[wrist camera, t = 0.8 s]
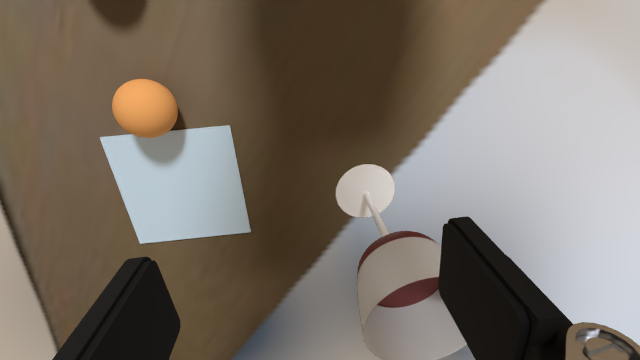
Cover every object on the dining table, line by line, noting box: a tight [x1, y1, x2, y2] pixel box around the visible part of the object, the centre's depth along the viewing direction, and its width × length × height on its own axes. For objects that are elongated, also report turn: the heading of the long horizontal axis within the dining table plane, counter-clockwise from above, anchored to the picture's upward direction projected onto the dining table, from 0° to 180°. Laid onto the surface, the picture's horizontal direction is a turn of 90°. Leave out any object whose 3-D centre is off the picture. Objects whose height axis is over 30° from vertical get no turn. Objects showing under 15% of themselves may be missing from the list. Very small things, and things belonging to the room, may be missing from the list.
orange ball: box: [112, 79, 178, 138], centre depth 31 cm, size 6×6×6 cm
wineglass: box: [336, 164, 467, 360], centre depth 30 cm, size 8×9×20 cm
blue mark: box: [100, 125, 251, 244], centre depth 37 cm, size 14×14×1 cm
